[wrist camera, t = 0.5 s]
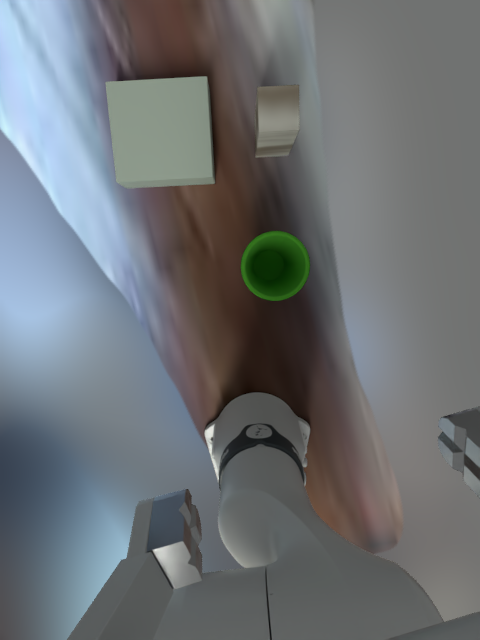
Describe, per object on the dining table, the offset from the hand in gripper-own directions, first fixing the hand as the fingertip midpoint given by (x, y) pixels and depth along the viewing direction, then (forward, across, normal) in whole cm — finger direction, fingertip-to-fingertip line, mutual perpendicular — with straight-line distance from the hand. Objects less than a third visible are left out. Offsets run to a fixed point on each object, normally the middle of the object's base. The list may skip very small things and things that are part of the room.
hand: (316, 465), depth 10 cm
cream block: (+48, +12, +12) cm, 51 cm away
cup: (+44, +7, -6) cm, 45 cm away
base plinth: (+50, -4, +16) cm, 52 cm away
